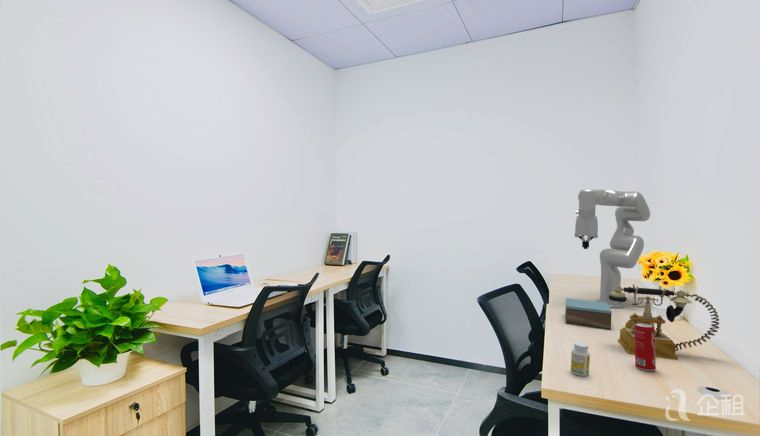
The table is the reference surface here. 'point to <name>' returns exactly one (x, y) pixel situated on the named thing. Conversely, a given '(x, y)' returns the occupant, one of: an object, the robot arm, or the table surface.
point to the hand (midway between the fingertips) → (585, 248)
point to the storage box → (588, 318)
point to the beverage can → (645, 346)
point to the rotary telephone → (658, 319)
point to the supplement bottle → (580, 359)
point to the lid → (588, 305)
